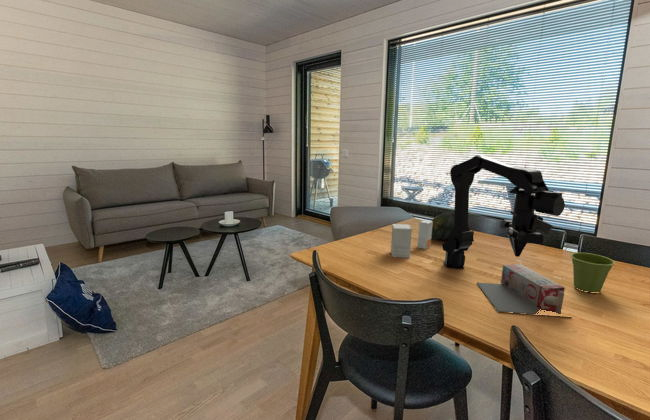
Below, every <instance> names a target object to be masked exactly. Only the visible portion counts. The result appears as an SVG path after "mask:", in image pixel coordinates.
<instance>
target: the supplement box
mask: <svg viewBox="0 0 650 420" xmlns="http://www.w3.org/2000/svg"><path fill="white" fill-rule="evenodd" d="M412 231H413V229H412V227H411V225H410V224H406V223H405V224H401V223H399V224H398V223H396V224H395V223H392V228H391V243H390V253H391V257H392V258H404V259H405V258H407V259H408V258H411V244H412V233H413V232H412Z"/></svg>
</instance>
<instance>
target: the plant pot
mask: <svg viewBox="0 0 650 420" xmlns="http://www.w3.org/2000/svg"><path fill="white" fill-rule="evenodd" d="M570 258H571V259H572V260H571V261H572V262H571V263H572V268H573V269H572V270H573V271H572V272H573V275H572V276H573V287H574V286H575V287H576V288H578V289H580V290H583V291H588V292H600V293H601V292H602V289H603V286H604V284H605V282H606V280H607V277H608V275H609V273H610V271H611V269H612V267H613V266H615V265H616V262H615V260H613V259H611V258H609V257H606V256H604V255H600V254H594V253H590V252H572V253H571V254H570ZM575 287H574V288H575ZM576 288H575V289H576Z"/></svg>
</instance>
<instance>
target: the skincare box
mask: <svg viewBox="0 0 650 420" xmlns="http://www.w3.org/2000/svg"><path fill="white" fill-rule="evenodd" d="M432 226H433V221H432V220H428V219H423V220H421V221H419V224H418V234H417V243H416V244H417V245H416V247H417V248H419V249H424V250H426V249H428V248H430V247H431V245H432V244H431V243H432V237H431V236H432Z"/></svg>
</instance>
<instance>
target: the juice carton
mask: <svg viewBox="0 0 650 420" xmlns="http://www.w3.org/2000/svg"><path fill="white" fill-rule="evenodd" d="M500 284H503V285H505V286H506V287H508V288H509V289H511V290H512V291H514V292H515V293H517V294H518V295H520V296H521V297H523V298H524V299H526V300H527V301H529V302H530V303H532V304H533V305H535V306H536V307H538V308H539V309H541V310H546V311H552V312H556V313H558V314H561V309H562V308H563V303H564V296H565V289H566V288H565V286H563V285H561V284H559V283H557V282H555V281H553V280H551V279H549V278H547V277H546V276H544V275H542V274H540V273H538V272H536V271H535V270H533V269H530V268H528V267H526V266H524V265H523V264H521V263H520V264H517V263H516V264H503V265H502V271H501V279H500Z"/></svg>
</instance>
